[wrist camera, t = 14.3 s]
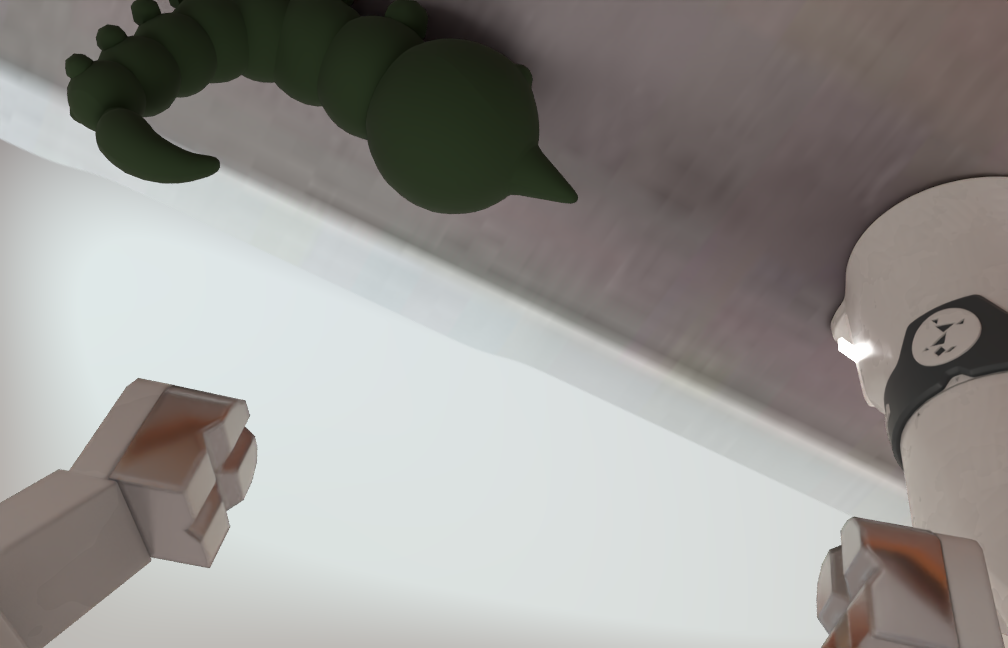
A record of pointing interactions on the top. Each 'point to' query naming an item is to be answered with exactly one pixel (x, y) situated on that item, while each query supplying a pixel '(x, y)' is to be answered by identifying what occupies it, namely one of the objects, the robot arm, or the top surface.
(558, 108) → the top surface
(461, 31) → the top surface
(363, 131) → the toy figurine
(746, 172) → the top surface
